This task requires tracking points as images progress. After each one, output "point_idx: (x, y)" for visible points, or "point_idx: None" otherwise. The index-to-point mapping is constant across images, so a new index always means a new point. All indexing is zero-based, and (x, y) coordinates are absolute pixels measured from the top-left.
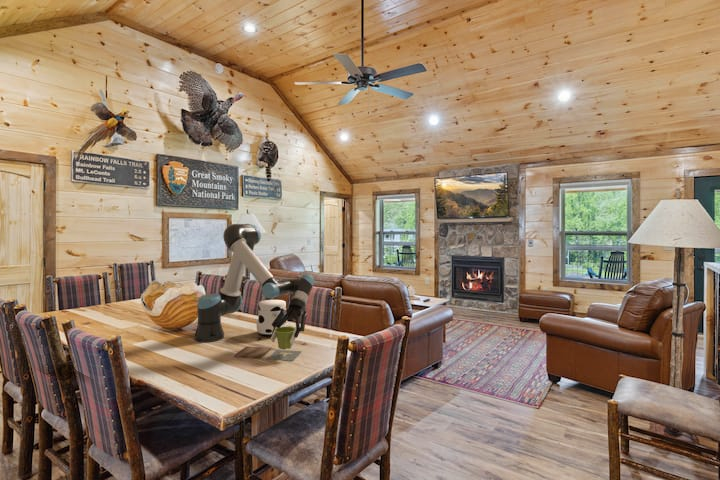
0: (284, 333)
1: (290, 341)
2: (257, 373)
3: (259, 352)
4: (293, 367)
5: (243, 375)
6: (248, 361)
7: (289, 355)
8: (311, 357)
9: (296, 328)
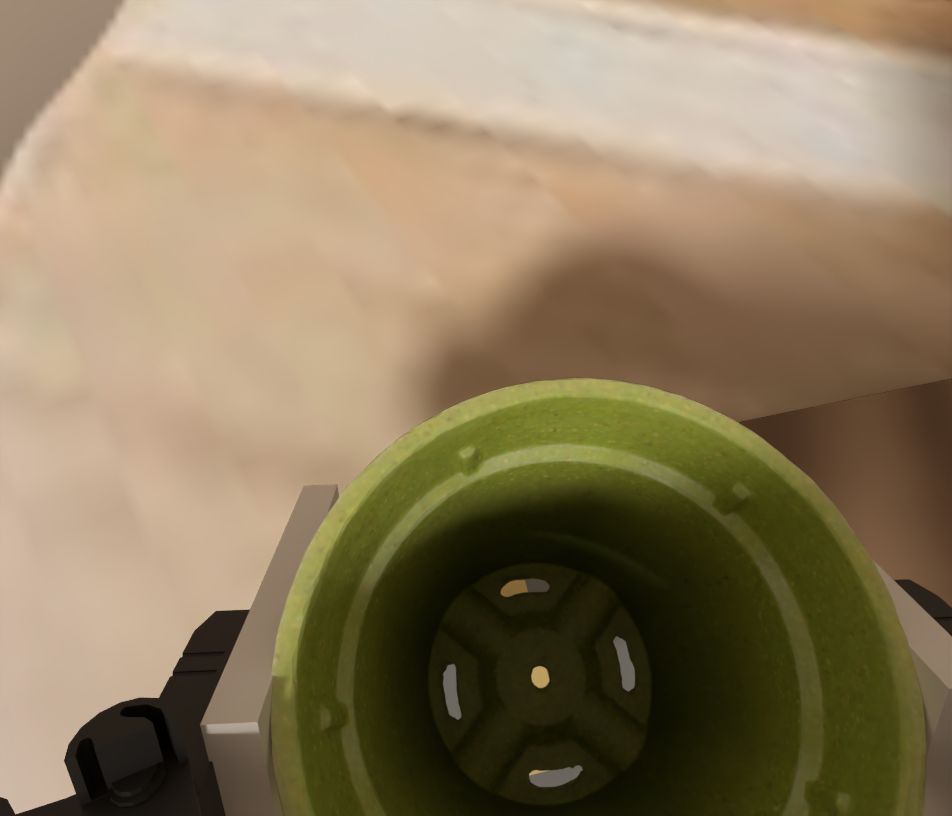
0: (457, 435)
1: (314, 488)
2: (474, 130)
3: (873, 552)
4: (210, 347)
5: (555, 71)
6: (778, 322)
7: (448, 677)
8: None
9: (181, 774)
